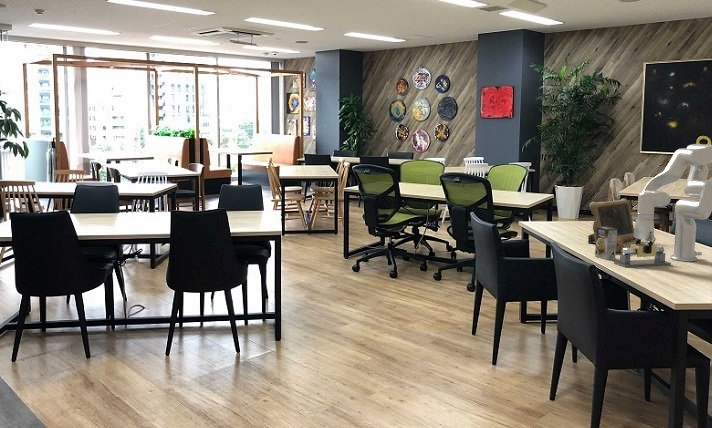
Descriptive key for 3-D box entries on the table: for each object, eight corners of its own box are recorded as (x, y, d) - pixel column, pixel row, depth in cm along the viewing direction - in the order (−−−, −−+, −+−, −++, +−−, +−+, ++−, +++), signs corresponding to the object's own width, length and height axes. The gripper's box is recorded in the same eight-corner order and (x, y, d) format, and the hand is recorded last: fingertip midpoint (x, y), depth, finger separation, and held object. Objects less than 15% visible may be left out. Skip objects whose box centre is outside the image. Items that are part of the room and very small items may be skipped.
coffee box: (594, 256, 350) (596, 226, 347) (604, 255, 352) (606, 226, 349) (605, 260, 341) (607, 229, 339) (616, 259, 343) (617, 228, 341)
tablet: (605, 247, 375) (608, 203, 372) (584, 243, 386) (586, 201, 383) (637, 241, 395) (639, 199, 391) (615, 237, 406) (618, 197, 402)
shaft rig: (658, 261, 338) (659, 245, 337) (670, 265, 330) (671, 248, 328) (613, 263, 333) (614, 247, 331) (624, 267, 324) (626, 250, 323)
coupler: (638, 257, 326) (638, 245, 326) (630, 254, 332) (630, 243, 332) (655, 256, 329) (656, 244, 328) (647, 254, 335) (648, 242, 334)
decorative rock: (602, 248, 371) (603, 231, 370) (623, 250, 367) (624, 232, 366) (601, 253, 359) (602, 235, 358) (623, 254, 355) (624, 236, 354)
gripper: (627, 214, 335) (625, 248, 338) (650, 219, 318) (647, 255, 321) (640, 214, 337) (638, 248, 339) (663, 219, 320) (661, 255, 323)
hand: (643, 251), depth 330 cm, fingers open, 7 cm apart
